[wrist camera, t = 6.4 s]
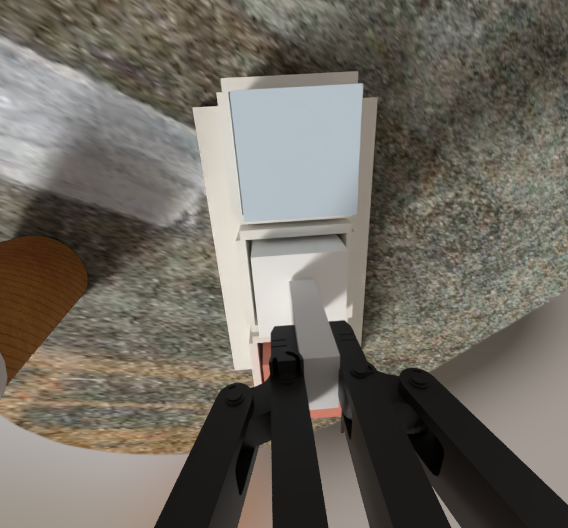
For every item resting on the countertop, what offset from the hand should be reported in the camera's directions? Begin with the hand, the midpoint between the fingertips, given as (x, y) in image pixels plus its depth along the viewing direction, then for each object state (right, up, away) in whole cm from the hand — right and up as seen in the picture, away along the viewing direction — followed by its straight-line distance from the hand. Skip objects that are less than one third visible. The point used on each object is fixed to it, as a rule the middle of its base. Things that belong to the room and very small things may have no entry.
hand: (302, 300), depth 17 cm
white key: (0, +2, +4) cm, 4 cm away
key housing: (0, +3, +7) cm, 7 cm away
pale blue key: (-1, +9, 0) cm, 9 cm away
